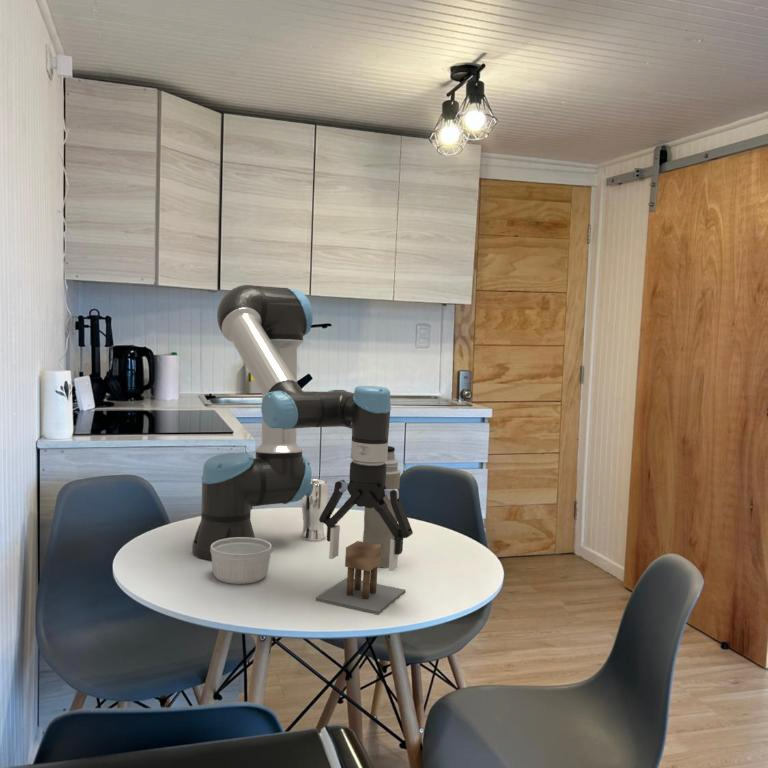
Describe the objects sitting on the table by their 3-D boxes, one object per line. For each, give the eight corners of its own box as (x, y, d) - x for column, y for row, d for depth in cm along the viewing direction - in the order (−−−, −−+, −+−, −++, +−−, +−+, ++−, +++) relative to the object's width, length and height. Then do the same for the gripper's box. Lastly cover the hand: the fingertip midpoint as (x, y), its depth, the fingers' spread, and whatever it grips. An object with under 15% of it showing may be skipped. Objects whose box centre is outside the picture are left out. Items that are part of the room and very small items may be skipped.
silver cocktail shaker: (331, 537, 189) (334, 481, 188) (315, 543, 184) (318, 485, 182) (310, 532, 193) (313, 477, 192) (294, 537, 187) (296, 481, 186)
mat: (315, 600, 145) (315, 597, 145) (346, 580, 158) (346, 577, 158) (378, 614, 139) (378, 611, 139) (405, 592, 152) (405, 589, 152)
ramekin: (238, 562, 166) (239, 533, 165) (283, 574, 159) (284, 544, 159) (196, 577, 154) (197, 546, 154) (243, 591, 148) (244, 558, 147)
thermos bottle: (397, 559, 174) (404, 445, 172) (391, 569, 166) (398, 450, 164) (366, 555, 176) (372, 442, 174) (358, 565, 168) (364, 447, 166)
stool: (343, 595, 147) (345, 547, 146) (355, 587, 152) (357, 540, 151) (367, 600, 145) (370, 552, 144) (378, 592, 150) (381, 545, 149)
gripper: (306, 456, 148) (301, 557, 150) (418, 472, 138) (412, 580, 140) (323, 451, 155) (318, 547, 156) (432, 466, 145) (425, 569, 147)
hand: (362, 563), depth 148 cm, fingers open, 13 cm apart
